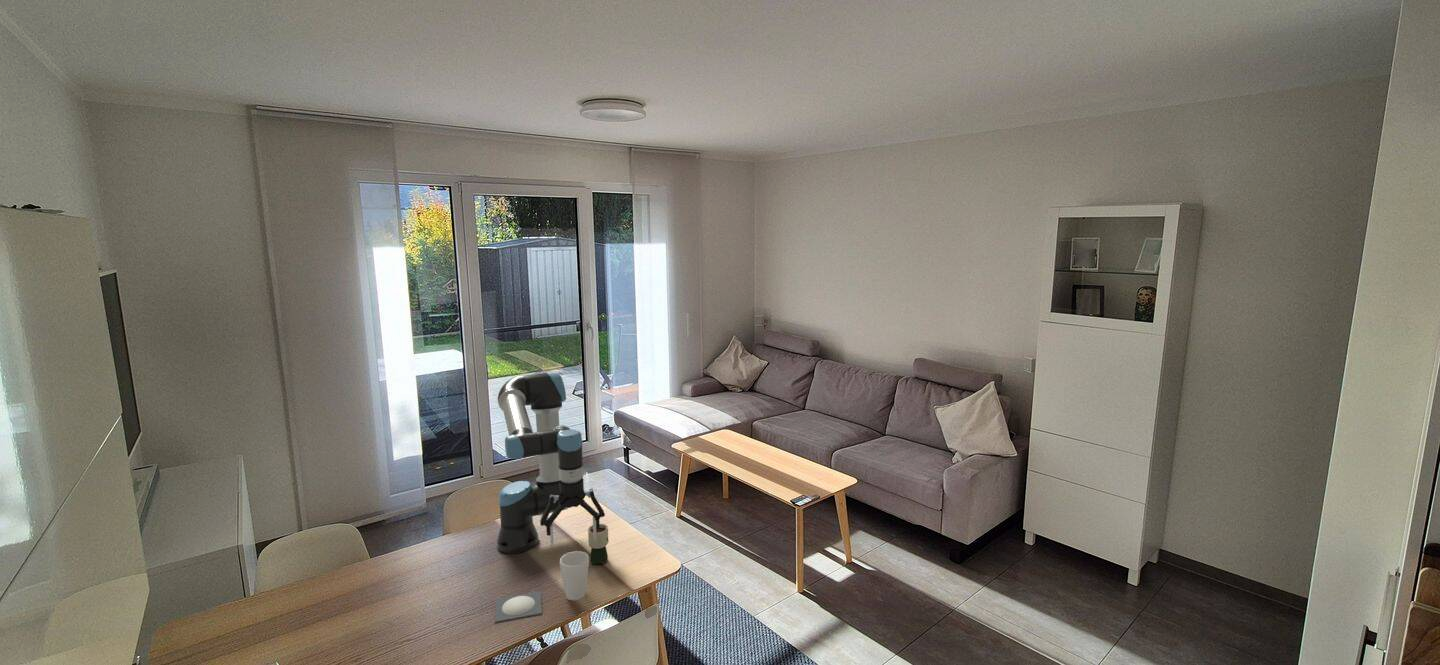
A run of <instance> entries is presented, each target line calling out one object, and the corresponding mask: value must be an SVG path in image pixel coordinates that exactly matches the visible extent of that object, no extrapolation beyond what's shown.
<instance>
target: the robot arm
mask: <svg viewBox="0 0 1440 665" xmlns="http://www.w3.org/2000/svg"><path fill="white" fill-rule="evenodd" d="M566 394H567V393H566V388H565V384H564V380H563V378H562V375H561V374H560V373H558V372H541V373H533V374H532V373H531V374H520V375H516V376H514V377H512V378H510V379H509V380H507V381H506V382H505V383H504V384H503V385H502V386H501V388H500V390H499V391H498V394H497V403H498V407H499V409H500V410H501V411H502V412H503V415H504V419H505V420H504V421H505V425H506V428H507V432H508V435H507V436H505V438H504V447H505V448H504V450H505V455H506V458H507V459H509V460H515V459H518V460H520V459H522V458H523V459H524V458H528V457H529V458H530V457H531V458H532V457H536V456H538V467H539V475H538V476H537V477H536V478H535V484H532V483H531V482H530V481H528V480H518V481H514V482H510V483H509V484H507V485H505V486H504V487H503V488H502V489H501V490H500V491H499V495H498V498H499V499H498V505H499V515H500V517H499V518H500V528H499V532H498V535H497V539H496V548H497V550H499V552H502V553H504V554H519V553H524V552H528V551H529V550H531V549H533V548H534V547H536V546H537V545H538V543H539V533H538V531H537V528H536V526H535V524H534V518H533V517H536V516H541V517H540V520H539V521H540V523H539V524H540V526H542V527H543V526H545V527H546V528H545V529H546V530H545V531H546V536H550V546H551V547H553V546H554V529H553V528H554V526H553V523H554V522H555V520H556V519H557V518H558V517H559V515H560V514H561V512H562V511H565V510H568V509H570V508H578V507H579V506H581V507H582V508H584V510H585V511H587V512H588V513H589V515H591V516H592V525H593V536H594V539H597V535H596V528H599V527H600V524H601V523H600V520H601V518H604V517H605V516H606V514H605V511H604V509H603V507H602V506H601V505H600V502H599V501H598V499H597V498H596V496H595V492H594V489H593V488H590V489H589V490H587V491H585V487H584V485H585V484H584V467H583V466H584V465H583V464H584V463H583V462H584V460H583V438H582V433H581V432H580V430H576V429H571V428H570V427H568V426H566V425H562V424H560V416H559V411H560V410H561V408H563V402H566V401H567V395H566ZM526 406H530V409H531V411H532V412H533V413H534V414H535V424H536V425H535V426H536V431H534V430H533V427H532V425H531V421H530V418H529V415H528V414H529V413H528V412H527V407H526ZM585 497H587V498H589V499H590V500H591V502H592V503H593V505H594V506H595V508H596V509H597V511H596V510H595V508H593V507H591V506H590V504H588V503H587V502H586V501H585ZM549 515H550V516H549Z"/></svg>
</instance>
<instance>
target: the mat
mask: <svg viewBox="0 0 1440 665" xmlns="http://www.w3.org/2000/svg"><path fill="white" fill-rule="evenodd" d="M494 607H495V610H494V623H495V624H496V623H500V622H507V621H512V620H517V619H523V618H527V617H532V616H539V615H542V614H543V609H542V608H543V607H542V593H541V590H540V591H538V590H537V591H533V592H528V593H521V594H516V595H509V596H505V597H499V598H495V606H494Z"/></svg>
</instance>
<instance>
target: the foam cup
mask: <svg viewBox="0 0 1440 665" xmlns="http://www.w3.org/2000/svg"><path fill="white" fill-rule="evenodd" d="M589 566H590V556H589V554H588V553H587V552H585V551H581V550H576V551H575V550H574V551H570V552H569V551H568V552H566V553H564V554H563V555H561V557H560V558H559V570H560V572H561V579H562V583H563V589H564V594H565V598H566V599H567V600H570V601H579V600H581V599H583V598H584V597H585V596H586V592H587V583H588V582H587V581H588V574H589V573H588V572H589Z"/></svg>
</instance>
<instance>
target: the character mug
mask: <svg viewBox="0 0 1440 665" xmlns="http://www.w3.org/2000/svg"><path fill="white" fill-rule="evenodd" d="M599 524H600V527H599V528H596V535H597V539H594V536H593V524H592V525H591V526H589V527H588V529H587V530H588V531H587V533H588V539H587V540H588V541H587V542H588V546H589V547H590V548H591V549H590V556H589V562H591V564H594V565H597V564H598V565H599V564H605V563H606V562H608V560H609V558H608V557H609V556H608V551H607V546H608V544H609V526H608V525H607V524H605V523H599Z"/></svg>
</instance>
